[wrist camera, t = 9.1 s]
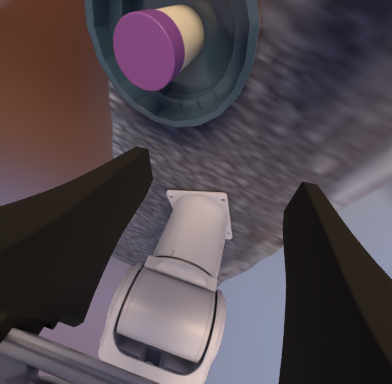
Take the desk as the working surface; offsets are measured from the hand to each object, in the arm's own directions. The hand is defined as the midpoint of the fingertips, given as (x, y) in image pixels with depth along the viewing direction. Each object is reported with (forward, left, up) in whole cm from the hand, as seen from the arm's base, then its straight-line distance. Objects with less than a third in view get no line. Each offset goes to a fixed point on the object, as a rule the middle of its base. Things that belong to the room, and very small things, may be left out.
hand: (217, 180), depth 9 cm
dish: (+5, +4, -9) cm, 11 cm away
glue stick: (+5, +4, -9) cm, 11 cm away
